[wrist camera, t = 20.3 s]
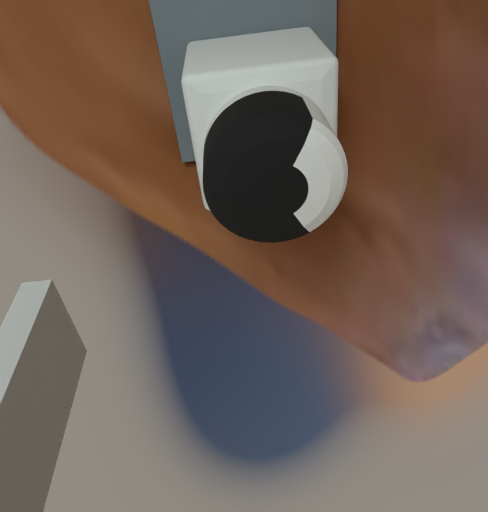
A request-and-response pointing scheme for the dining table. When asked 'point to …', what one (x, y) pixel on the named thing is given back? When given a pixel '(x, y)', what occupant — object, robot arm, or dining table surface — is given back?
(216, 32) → the pad
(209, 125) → the container
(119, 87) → the dining table surface
